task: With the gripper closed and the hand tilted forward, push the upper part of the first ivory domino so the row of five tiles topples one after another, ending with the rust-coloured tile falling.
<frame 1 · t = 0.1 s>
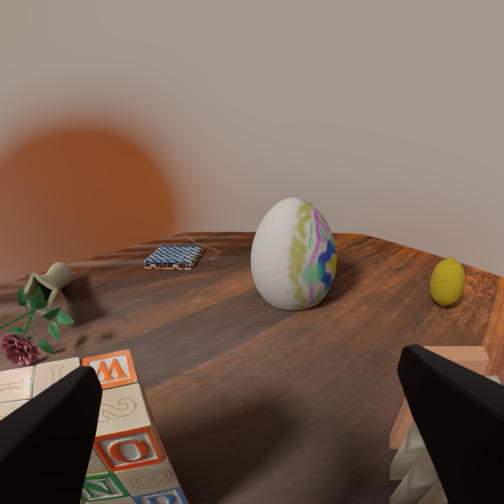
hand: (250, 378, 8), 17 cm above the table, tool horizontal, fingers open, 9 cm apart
decorative egg: (293, 298, 46), on the table
lemon: (441, 308, 40), on the table
flower vase: (50, 332, 37), on the table
domino 5: (416, 441, 20), on the table
woven mat: (174, 262, 63), on the table
domino 4: (418, 471, 17), on the table
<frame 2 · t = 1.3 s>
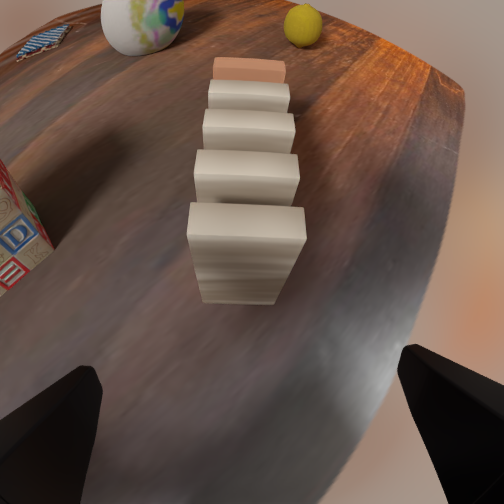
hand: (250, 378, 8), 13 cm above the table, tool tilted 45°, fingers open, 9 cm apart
decorative egg: (146, 45, 38), on the table
lemon: (298, 48, 39), on the table
domino 1: (238, 293, 22), on the table
domino 3: (240, 214, 25), on the table
domino 5: (241, 155, 28), on the table
woven mat: (44, 46, 41), on the table
domino 4: (241, 182, 26), on the table
domino 2: (239, 252, 24), on the table
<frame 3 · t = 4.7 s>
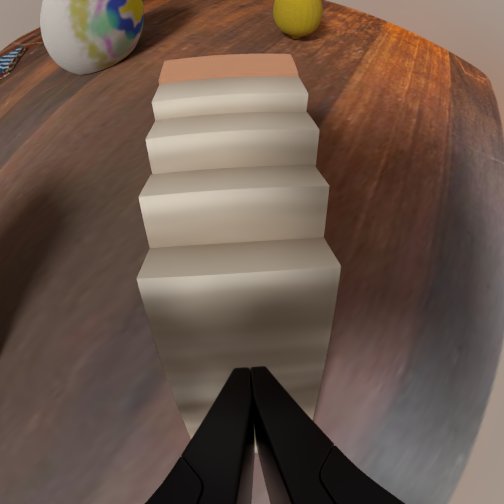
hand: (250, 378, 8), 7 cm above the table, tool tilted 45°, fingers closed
decorative egg: (103, 58, 29), on the table
lemon: (294, 40, 30), on the table
domino 1: (250, 439, 13), on the table, tilted 35°
domino 3: (242, 314, 16), on the table, tilted 19°, touching domino 2
domino 5: (234, 210, 19), on the table
domino 4: (238, 258, 17), on the table, tilted 10°
domino 2: (245, 376, 14), on the table, tilted 28°, touching domino 3
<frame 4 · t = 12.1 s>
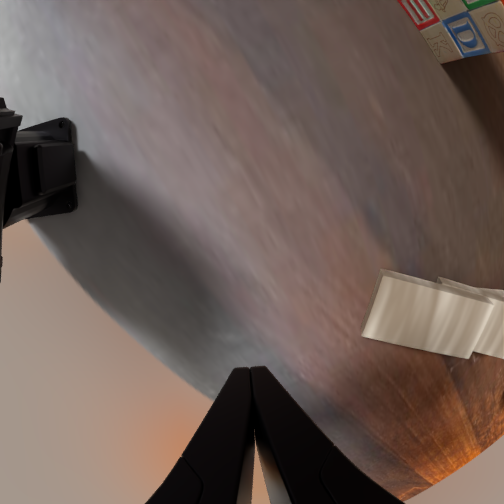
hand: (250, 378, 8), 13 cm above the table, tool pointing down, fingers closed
domino 1: (371, 302, 22), point 1 cm above the table, tilted 70°, touching domino 2
domino 2: (429, 307, 22), point 1 cm above the table, tilted 65°, touching domino 1, domino 3
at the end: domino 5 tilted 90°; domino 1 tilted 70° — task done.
